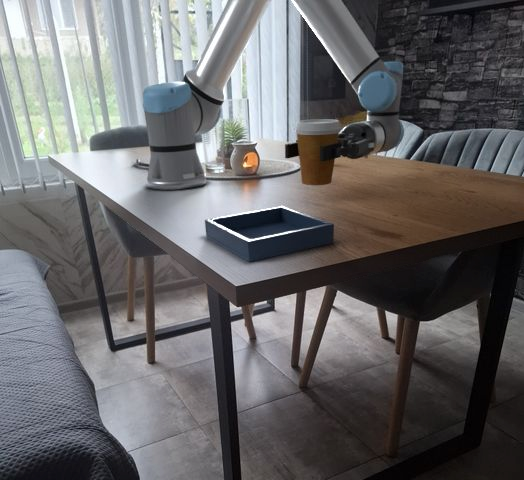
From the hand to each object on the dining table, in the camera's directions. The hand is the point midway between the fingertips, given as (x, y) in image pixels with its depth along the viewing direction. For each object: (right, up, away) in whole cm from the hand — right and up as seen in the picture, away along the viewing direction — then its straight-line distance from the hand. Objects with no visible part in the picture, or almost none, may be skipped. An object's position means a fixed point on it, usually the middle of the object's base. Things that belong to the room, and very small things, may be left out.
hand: (303, 152), depth 98 cm
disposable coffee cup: (+3, -4, +7) cm, 8 cm away
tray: (-7, -22, -17) cm, 28 cm away
